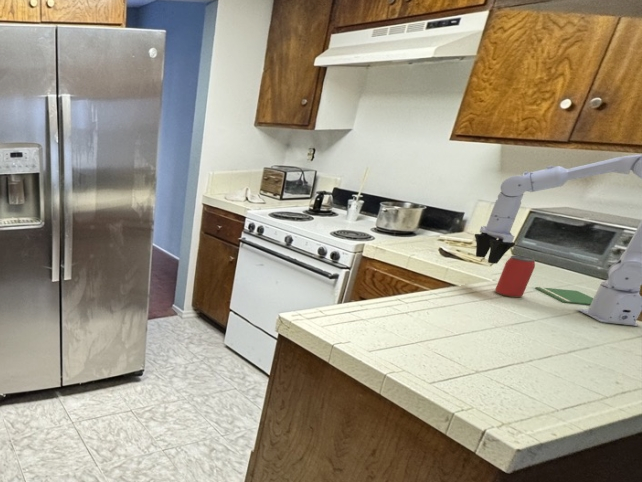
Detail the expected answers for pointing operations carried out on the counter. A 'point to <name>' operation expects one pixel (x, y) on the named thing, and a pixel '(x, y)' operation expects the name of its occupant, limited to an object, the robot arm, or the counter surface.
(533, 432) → the counter surface
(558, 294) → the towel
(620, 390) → the counter surface
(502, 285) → the beer can
